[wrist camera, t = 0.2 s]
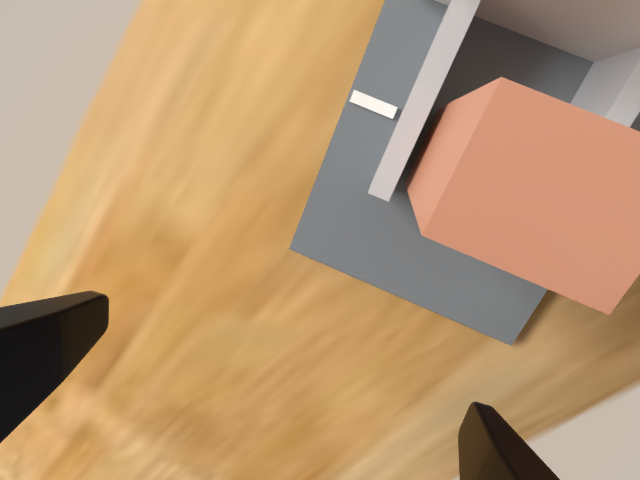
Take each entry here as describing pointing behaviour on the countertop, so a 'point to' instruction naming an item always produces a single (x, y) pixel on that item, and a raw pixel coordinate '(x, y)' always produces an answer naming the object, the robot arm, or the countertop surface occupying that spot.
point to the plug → (533, 191)
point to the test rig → (416, 119)
